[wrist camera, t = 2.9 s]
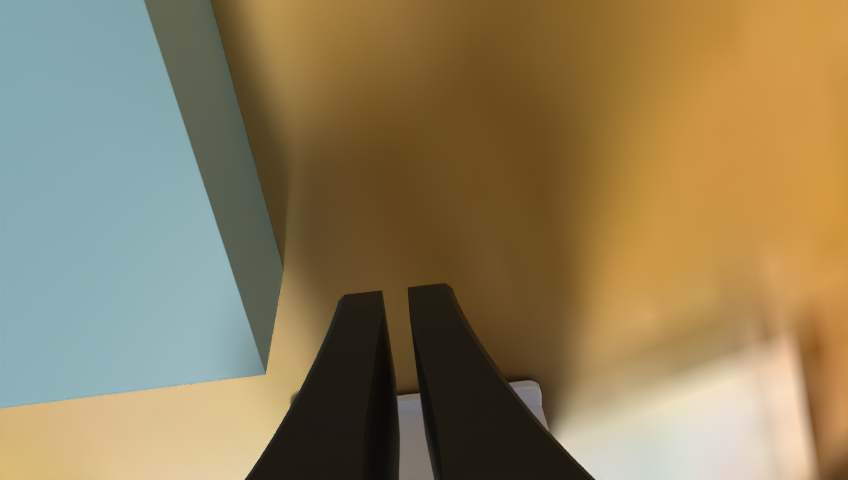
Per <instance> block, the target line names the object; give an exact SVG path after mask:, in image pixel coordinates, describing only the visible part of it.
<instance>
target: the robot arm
mask: <svg viewBox="0 0 848 480" xmlns="http://www.w3.org/2000/svg"><path fill="white" fill-rule="evenodd" d="M408 298H409V312H410V321H411V329H412V337H413V344H414V352H415V360H416V368H417V376H418V383H419V391H420V393H417V394H408V395H400V396H397V389H396V379H395V372H394V366H393V359H392V353H391V346H390V340H389V333H388V327H387V320H386V314H385V307H384V301H383V294H382V291H373V292H365V293H356V294H347V295H344V296H343V297H342V298H341V299H340V300H339V302H338V305H337V309H336V312H335V314H334V317H333V320H332V322H331V325H330V327H329V330H328V332H327V335H326V337H325V339H324V342H323V344H322V346H321V348H320V351H319V353H318V355H317V357H316V359H315V361H314V363H313V365H312V367H311V369H310V371H309V373H308V375H307V377H306V379H305V381H304V383H303V385H302V387H301V389H300V391H299V393H298V395H297V396H296V398H295V400H294V402H293V403H292V405H291V407H290V409H289V410H288V412H287V414H286V416H285V417H284V419H283V421H282V422H281V424H280V426H279V428H278V429H277V431H276V433H275V434H274V436H273V438H272V439H271V441H270V443H269V444H268V446H267V447H266V449H265V450H264V452H263V453H262V455H261V457H260V458H259V460H258V461H257V463H256V464H255V466H254V467H253V469H252V470H251V472H250V473H249V474H248V476H247V477H246V479H245V480H595V479H594V478H593V477H592V476H591V475H590V474H589V473H588V472H587V471H586V470H585V469H584V468H583V467H582V466H581V465H580V464H579V463H578V462H577V461H576V460H575V459H574V458H573V457H572V456H571V455H570V454H569V453H568V452H567V451H566V450H565V449H564V448H563V446H562V445H561V444H560V443H559V442H558V441H557V440H556V439H555V438H554V437H553V436H552V435H551V434H550V432H549V429H548V426H547V422H546V419H545V416H544V412H543V409H542V393H541V390H540V386H539V384H538V383H537V382H534V381H518V382H510V383H508V381H507V380H506V379H505V377H504V376H503V375H502V373H501V372H500V370H499V369H498V367H497V366H496V365H495V363H494V362H493V360H492V359H491V357H490V356H489V355H488V353H487V352H486V350H485V349H484V347H483V346H482V344H481V343H480V341H479V339H478V338H477V336H476V335H475V333H474V331H473V330H472V328H471V326H470V324H469V323H468V321H467V319H466V317H465V316H464V314H463V312H462V310H461V308H460V306H459V304H458V302H457V299H456V297H455V295H454V292H453V289H452V288H451V287H450V286H448V285H447V284H446V283H443V284H434V285H425V286H417V287H408Z"/></svg>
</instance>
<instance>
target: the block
mask: <svg viewBox="0 0 848 480" xmlns="http://www.w3.org/2000/svg"><path fill="white" fill-rule="evenodd" d="M282 276H283V266H282V262H281V259H280V255H279V251H278V248H277V244H276V240H275V237H274V233H273V229H272V225H271V222H270V218H269V214H268V211H267V207H266V203H265V200H264V196H263V192H262V189H261V185H260V181H259V177H258V174H257V170H256V166H255V163H254V159H253V155H252V152H251V148H250V144H249V140H248V137H247V133H246V129H245V126H244V122H243V118H242V115H241V111H240V107H239V104H238V100H237V96H236V92H235V89H234V85H233V81H232V78H231V74H230V70H229V67H228V63H227V59H226V56H225V52H224V48H223V44H222V41H221V37H220V33H219V30H218V26H217V22H216V19H215V15H214V11H213V8H212V4H211V0H0V408H8V407H15V406H23V405H31V404H39V403H47V402H54V401H62V400H70V399H78V398H85V397H93V396H101V395H109V394H117V393H124V392H132V391H140V390H148V389H156V388H163V387H171V386H179V385H187V384H194V383H202V382H210V381H218V380H226V379H233V378H241V377H249V376H257V375H265V374H266V369H267V364H268V358H269V352H270V346H271V340H272V334H273V329H274V323H275V317H276V311H277V305H278V300H279V294H280V288H281V282H282Z"/></svg>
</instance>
